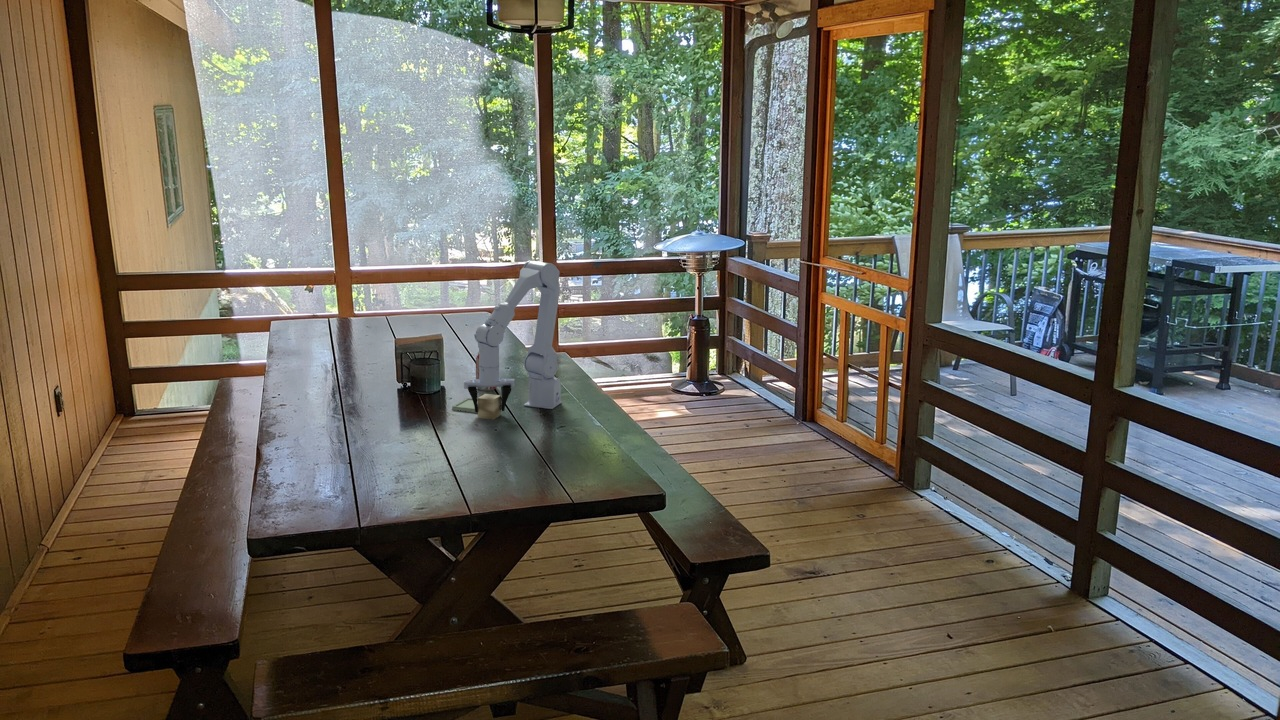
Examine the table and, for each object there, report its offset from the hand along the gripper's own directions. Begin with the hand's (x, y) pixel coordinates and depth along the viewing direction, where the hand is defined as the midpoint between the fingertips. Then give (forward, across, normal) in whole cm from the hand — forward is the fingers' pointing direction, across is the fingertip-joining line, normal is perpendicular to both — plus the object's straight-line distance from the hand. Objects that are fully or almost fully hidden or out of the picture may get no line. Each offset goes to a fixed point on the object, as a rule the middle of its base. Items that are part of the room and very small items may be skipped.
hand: (489, 410), depth 272 cm
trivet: (+2, +3, -10) cm, 10 cm away
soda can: (+2, -2, -30) cm, 30 cm away
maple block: (+2, 0, 0) cm, 2 cm away
